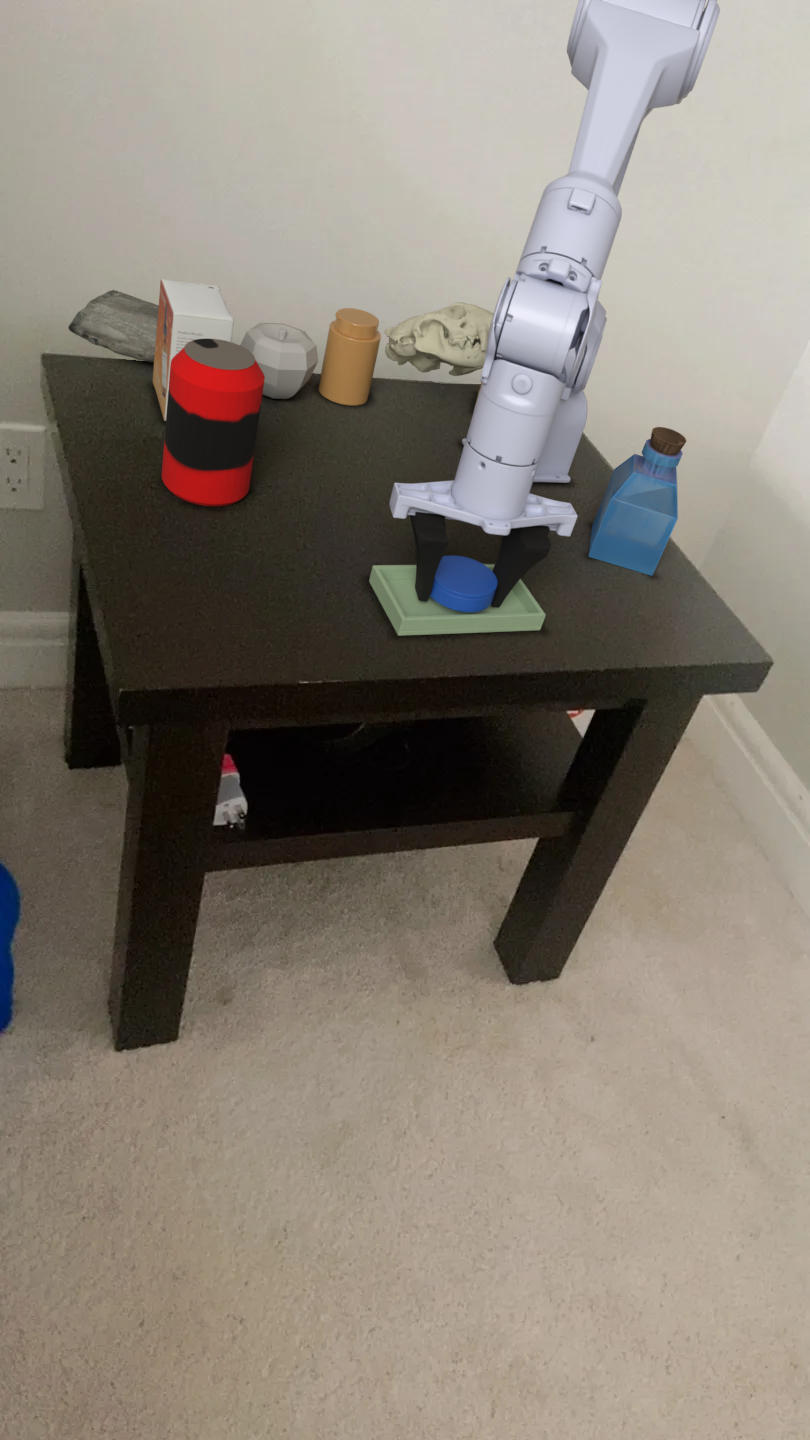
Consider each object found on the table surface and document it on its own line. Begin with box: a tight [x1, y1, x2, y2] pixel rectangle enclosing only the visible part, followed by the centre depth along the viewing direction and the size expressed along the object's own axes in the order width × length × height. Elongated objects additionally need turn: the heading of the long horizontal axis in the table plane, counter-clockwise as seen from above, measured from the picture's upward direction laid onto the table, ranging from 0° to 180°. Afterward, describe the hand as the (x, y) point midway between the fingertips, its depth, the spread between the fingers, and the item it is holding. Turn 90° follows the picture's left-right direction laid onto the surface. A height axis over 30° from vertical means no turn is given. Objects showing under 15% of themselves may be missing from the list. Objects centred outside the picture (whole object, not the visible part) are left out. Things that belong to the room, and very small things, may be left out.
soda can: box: [161, 339, 265, 508], centre depth 88 cm, size 8×8×12 cm
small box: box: [152, 278, 235, 422], centre depth 99 cm, size 8×6×10 cm
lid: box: [430, 555, 498, 612], centre depth 85 cm, size 6×6×2 cm
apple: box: [239, 322, 319, 400], centre depth 107 cm, size 8×8×7 cm
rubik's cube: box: [473, 381, 483, 410], centre depth 117 cm, size 6×6×6 cm
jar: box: [317, 307, 382, 406], centre depth 110 cm, size 5×5×8 cm
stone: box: [67, 289, 159, 364], centre depth 109 cm, size 11×4×15 cm
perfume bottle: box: [588, 426, 687, 577], centre depth 96 cm, size 6×6×12 cm
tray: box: [368, 563, 547, 637], centre depth 86 cm, size 13×7×2 cm, turn 110°
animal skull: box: [383, 301, 494, 377], centre depth 116 cm, size 15×9×8 cm
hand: (457, 597), depth 86 cm, fingers closed on lid, 6 cm apart
